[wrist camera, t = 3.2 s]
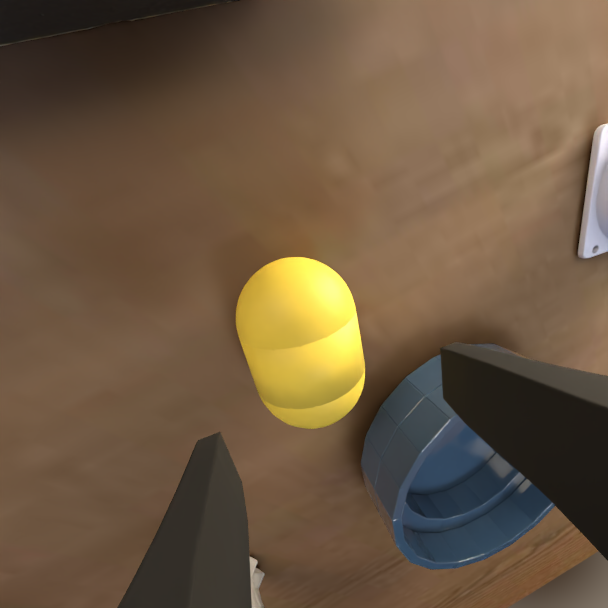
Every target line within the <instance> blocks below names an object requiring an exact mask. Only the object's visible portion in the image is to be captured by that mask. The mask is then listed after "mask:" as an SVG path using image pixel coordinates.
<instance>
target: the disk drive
mask: <svg viewBox="0 0 608 608" xmlns="http://www.w3.org/2000/svg"><path fill="white" fill-rule="evenodd" d="M233 1H238V0H0V46H5V45H9V44H14V43H19V42H24V41H28V40H35V39H39V38H44V37H51V36H54V35H59V34H65V33H70V32H75V31H80V30H87V29H90V28H94V27H99V26H102V25H105V24H108V23H112V22H114V23H117V22H120V21H127V20H130V21H133V20H136V19H144V18H149V17H155V16H159V15H163V14H169V13H173V12H178V11H184V10H189V9H196V8H200V7H206V6H211V5H216V4H222V3H228V2H233Z"/></svg>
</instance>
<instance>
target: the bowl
mask: <svg viewBox="0 0 608 608" xmlns="http://www.w3.org/2000/svg"><path fill="white" fill-rule="evenodd" d="M471 345H474V346H478V347H482V348H487V349H491V350H495V351H499V352H503V353H507V354H511V355H515V356H519V357H523V358H527V357H525V356H523V355H521V354H519V353H517V352H515V351H513V350H510V349H507V348H505V347H502V346H499V345H497V344H493V343H490V344H471ZM527 359H530V358H527ZM531 360H532V359H531ZM361 468H362V473H363V478H364V483H365V487H366V489H367V491H368V493H369V495H370V497H371V499H372V501H373V502H374V504H375V506H376V508H377V510H378V512H379V514H380V516H381V518H382V520H383V522H384V524H385V525H386V527H387V529H388V531H389V533H390V535H391V537H392V539H393V541H394V543H395V545H396V546H397V547H398V549H399V550H400V551H401V552H402V553H403V555H404V556H405V557H406V558H407V559H408V560H409V562H411V563H413V564H416V565H419V566H422V567H425V568H428V569H432V570H433V569H453V568H459V567H462V566H465V565H468V564H471V563H475V562H478V561H481V560H483V559H486V558H488V557H490V556H492V555H493V554H495V553H497V552H499V551H501V550H503V549H504V548H506V547H508V546H510V545H511V544H513V543H514V542H515V541H516V540H518V539H519V538H520V537H522V536H523V535H524V534H526V533H527V532H528V531H529V530H531V529H532V528H533V527H535V526H536V525H537V524H538V523H539V522H540V521H541V520H542V519H543V518H544V517H545V516H546V515H547V514H548V513H549V511H550V510H551V509H552V508H553V507H554V506H555V505H554V504H553V503H552V502H551V501H550V500H549V499H548V498H547V497H546V496H545V495H544V494H543V493H542V492H541V491H540V490H539V489H538V488H537V487H536V486H535V485H533V484H532V483H531V482H530V481H529V480H528V479H527V478H526V477H524V476H523V475H522V474H521V473H520V472H519V471H518V470H517V469H515V468H514V467H513V466H512V465H511V464H510V463H509V462H507V461H506V460H505V459H504V458H503V457H502V456H501V455H500V454H498V453H497V452H496V451H495V450H494V449H493V448H492V447H491V446H489V445H488V444H487V443H486V442H485V441H484V440H483V439H482V438H481V437H479V436H478V435H477V434H476V433H475V432H474V431H473V430H472V429H471V428H470V427H468V426H467V425H466V424H465V423H464V422H463V420H462V419H461V418H460V417H459V416H458V415H457V414H456V413H455V412H454V410H453V409H452V408H451V407H450V406H449V405H448V403H447V402H446V401H445V400H444V399H443V390H442V371H441V354H440V355H438V356H435V357H433V358H432V359H430V360H429V361H427V362H426V363H425V364H423V365H422V366H420V367H419V368H418V369H416V370H415V371H413V372H412V373H411V374H409V375H408V376H406V377H405V378H404V379H403V381H402V382H401V383H400V384H399V385H398V386H397V387H396V389H395V390H394V391H393V392H392V393H391V394H390V395H389V397H388V398H387V399H386V400H385V401H384V402H383V403H382V406H380V408H379V410H378V412H377V414H376V416H375V418H374V420H373V422H372V424H371V426H370V428H369V430H368V432H367V434H366V437H365V442H364V448H363V453H362V459H361Z"/></svg>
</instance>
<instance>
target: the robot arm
mask: <svg viewBox="0 0 608 608" xmlns="http://www.w3.org/2000/svg"><path fill="white" fill-rule="evenodd" d="M605 252H608V124H604V125H601V126H599V127H598V128H597V129H596V130H595V132H594V135H593V142H592V150H591V157H590V164H589V172H588V179H587V187H586V194H585V202H584V209H583V217H582V224H581V232H580V239H579V246H578V256H579V257H580V258H585V259H587V258H590V257H593V256H596V255H599V254H602V253H605ZM440 351H441V371H442V390H443V399H444V400H445V401H446V402H447V403H448V405H449V406H450V407H451V408H452V409H453V410H454V412H455V413H456V414H457V415H458V416H459V417H460V418H461V419H462V420H463V422H464V423H465V424H466V425H467V426H468V427H470V428H471V429H472V430H473V431H474V432H475V433H476V434H477V435H478V436H479V437H481V438H482V439H483V440H484V441H485V442H486V443H487V444H488V445H489V446H491V447H492V448H493V449H494V450H495V451H496V452H497V453H498V454H500V455H501V456H502V457H503V458H504V459H505V460H506V461H507V462H509V463H510V464H511V465H512V466H513V467H514V468H515V469H517V470H518V471H519V472H520V473H521V474H522V475H523V476H524V477H526V478H527V479H528V480H529V481H530V482H531V483H532V484H533V485H535V486H536V487H537V488H538V489H539V490H540V491H541V492H542V493H543V494H544V495H545V496H546V497H547V498H548V499H549V500H550V501H551V502H552V503H553V504H554V505H555V506H556V507H557V508H558V509H559V510H560V511H561V512H562V513H563V514H564V515H565V516H566V517H567V518H568V519H569V520H570V521H571V522H572V523H573V524H574V525H575V526H576V527H577V528H578V529H579V530H580V532H581V533H582V534H583V535H584V536H585V537H586V538H587V539H588V540H589V541H590V542H591V543H592V544H593V545H594V546H595V547H596V549H597V550H598V551H599V552H600V553H601V554H602V555H603V556H604V557H605V558H606V559H607V560H608V376H605V375H600V374H595V373H590V372H585V371H580V370H575V369H570V368H566V367H561V366H557V365H552V364H548V363H544V362H540V361H535V360H531V359H527V358H523V357H519V356H515V355H511V354H507V353H503V352H499V351H495V350H491V349H487V348H482V347H478V346H474V345H469V344H464V343H459V342H455V343H453V344H450V345H447V346H445V347H442V348H440ZM118 608H252V600H251V578H250V556H249V536H248V520H247V513H246V506H245V499H244V493H243V486H242V481H241V479H240V477H239V474H238V472H237V470H236V467H235V465H234V463H233V460H232V458H231V456H230V454H229V451H228V449H227V447H226V444H225V442H224V440H223V437H222V435H221V433H220V432H218V433H216V434H213V435H211V436H208V437H205V438H203V439H200V440H198V442H197V443H196V445H195V448H194V450H193V452H192V455H191V457H190V460H189V462H188V464H187V467H186V469H185V471H184V474H183V476H182V478H181V481H180V483H179V485H178V488H177V490H176V492H175V494H174V497H173V499H172V501H171V503H170V505H169V507H168V510H167V512H166V514H165V516H164V518H163V520H162V523H161V525H160V527H159V529H158V531H157V533H156V535H155V537H154V539H153V541H152V543H151V545H150V547H149V549H148V551H147V553H146V555H145V557H144V559H143V561H142V563H141V565H140V567H139V568H138V570H137V572H136V574H135V576H134V578H133V580H132V582H131V584H130V586H129V588H128V589H127V591H126V593H125V595H124V597H123V599H122V600H121V602H120V604H119V606H118Z"/></svg>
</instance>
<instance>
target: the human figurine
mask: <svg viewBox="0 0 608 608" xmlns="http://www.w3.org/2000/svg"><path fill="white" fill-rule="evenodd" d="M257 563H258V562H257V560H255V559H254V558H252V557H250V578H251V600H252V608H264V606H263V603H262V600H261V596H260V592H259V587H260V584H261V582H262V579H263V577H264V575H265V574H264V573H263V572H262V571H261V570H259V569H258V568H256V565H257Z"/></svg>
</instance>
